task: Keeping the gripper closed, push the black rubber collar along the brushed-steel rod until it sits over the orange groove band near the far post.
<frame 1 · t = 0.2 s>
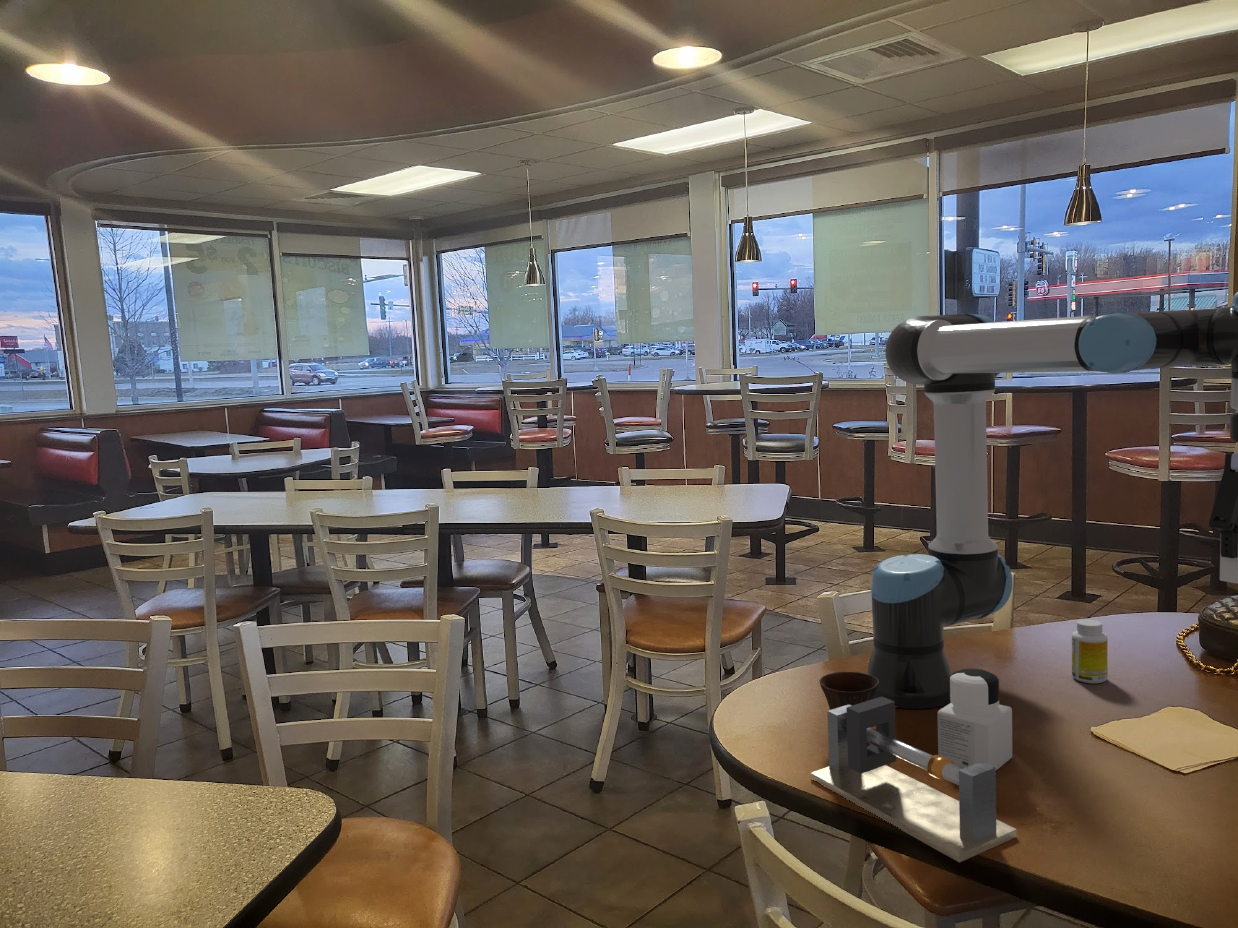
supplement bottle: (1089, 680, 161), on the table
rail: (906, 805, 120), on the table
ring: (871, 734, 125), point 8 cm above the table, slide at 0.0 cm
container: (975, 761, 132), on the table
cup: (850, 739, 142), on the table
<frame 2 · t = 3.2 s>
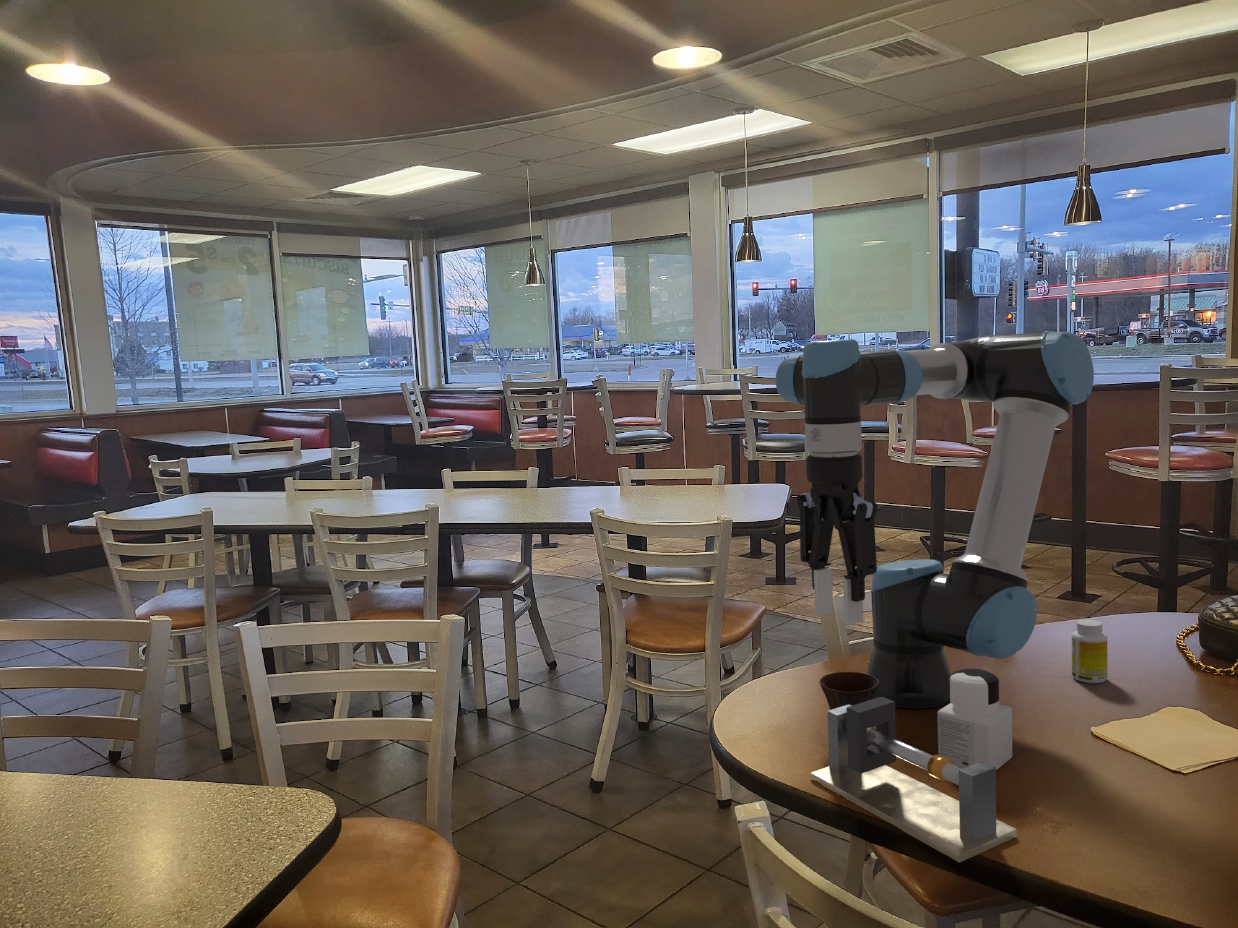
hand: (838, 617, 128), 23 cm above the table, fingers open, 5 cm apart
nothing on the table moved.
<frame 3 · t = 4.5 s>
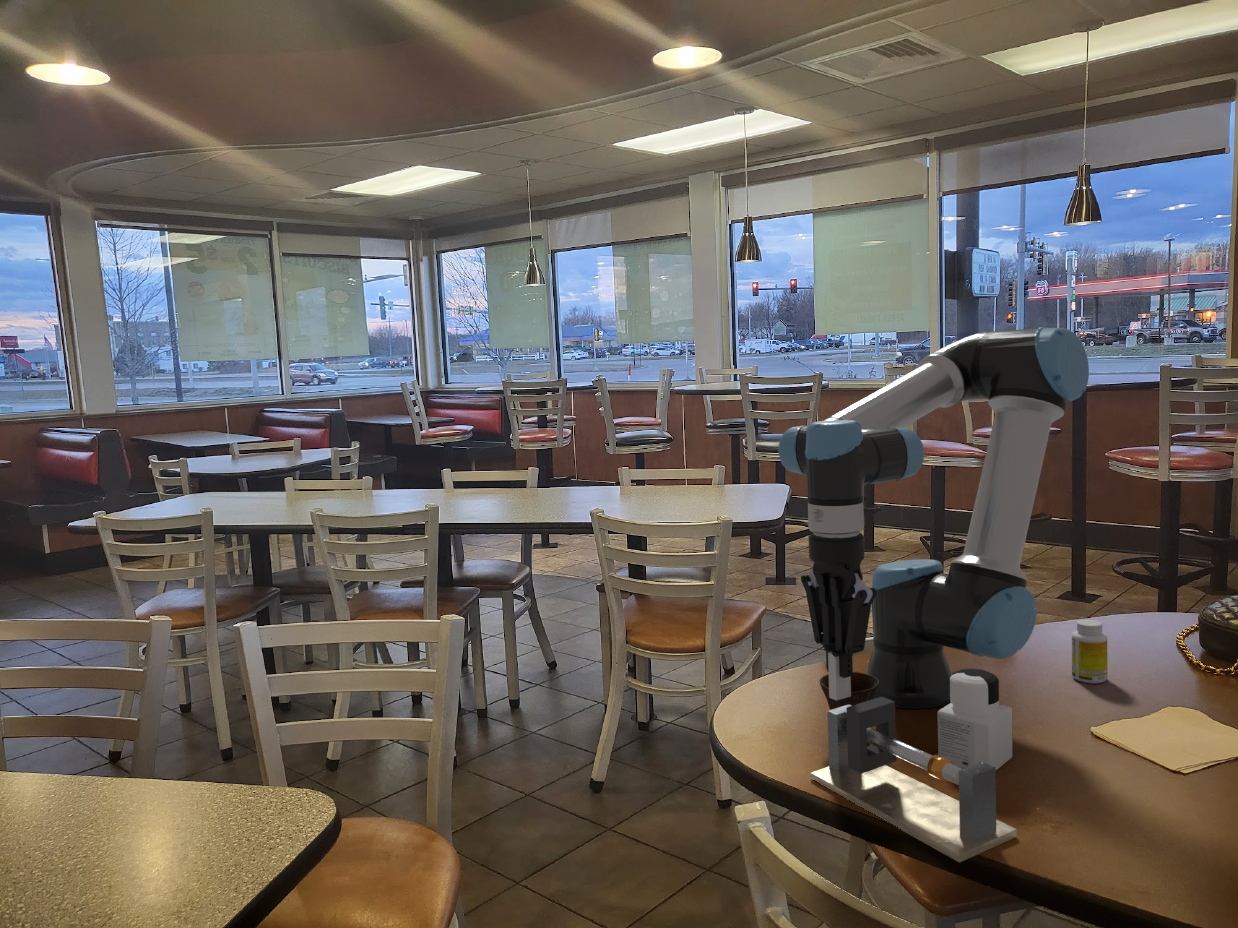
hand: (840, 696, 129), 11 cm above the table, fingers closed
nothing on the table moved.
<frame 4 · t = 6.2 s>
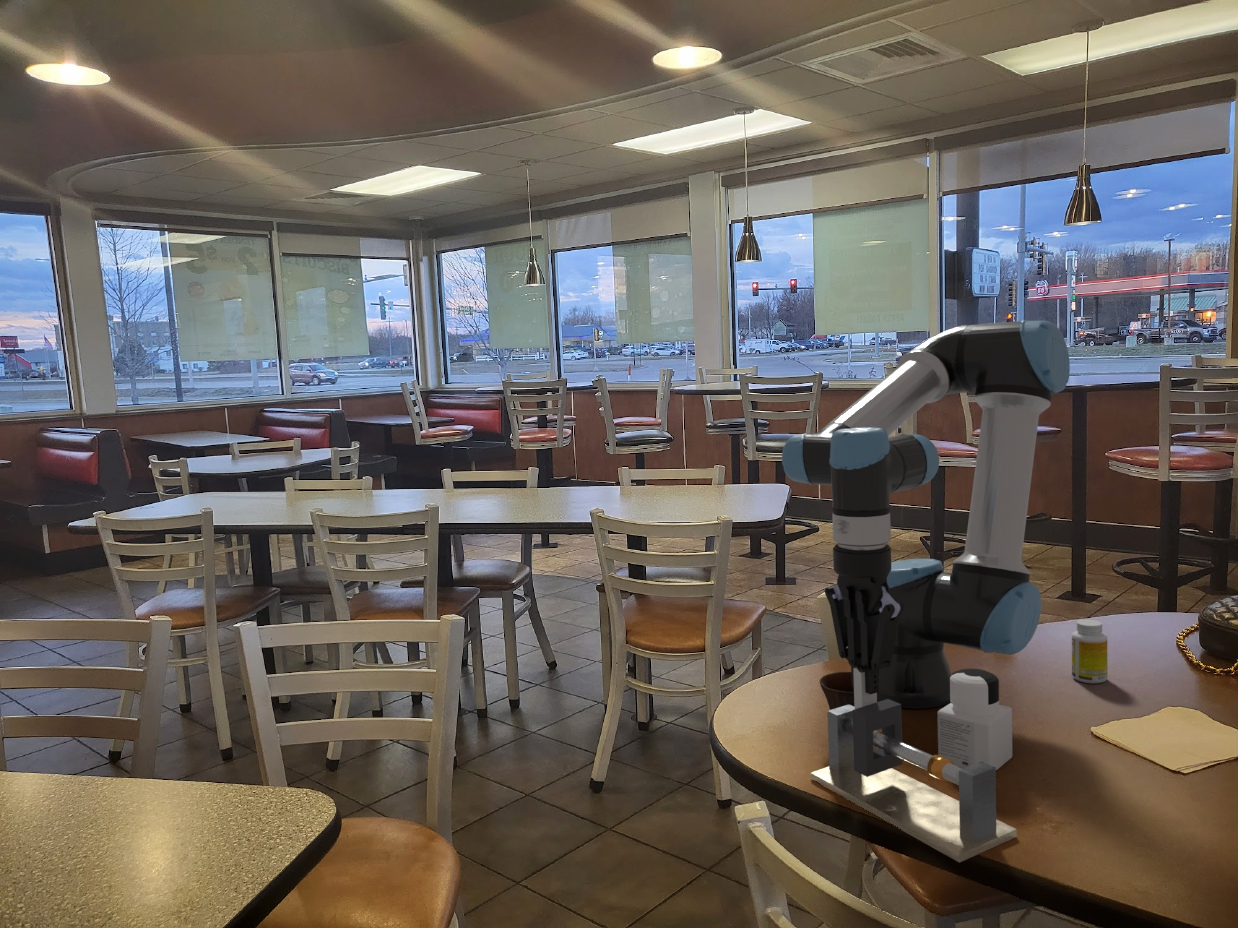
hand: (865, 713, 125), 11 cm above the table, fingers closed
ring: (877, 737, 124), point 8 cm above the table, slide at 1.2 cm, touching gripper
everything else where it was.
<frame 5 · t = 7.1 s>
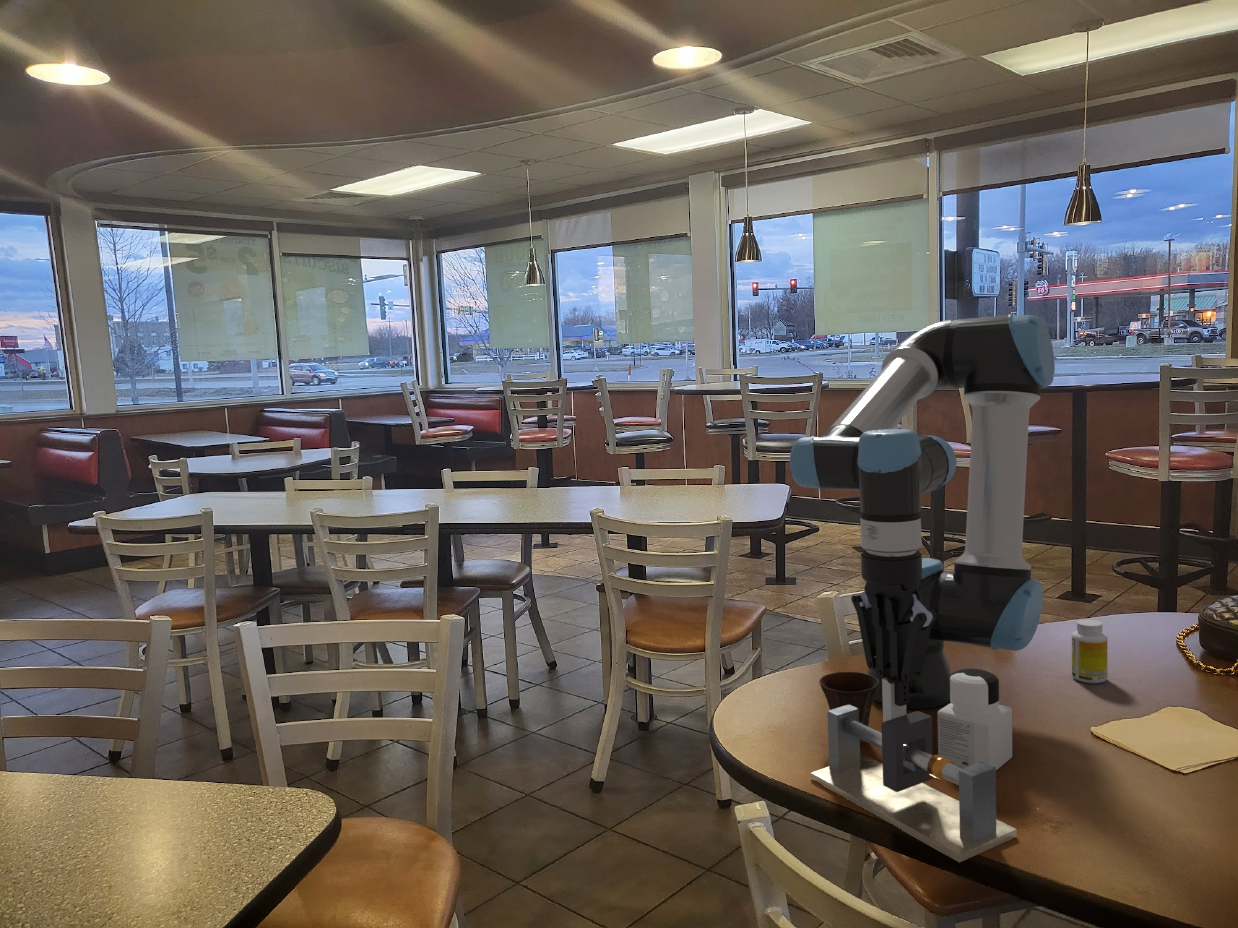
hand: (894, 725, 120), 11 cm above the table, fingers closed
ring: (907, 750, 119), point 8 cm above the table, slide at 6.5 cm, touching gripper
everything else where it was.
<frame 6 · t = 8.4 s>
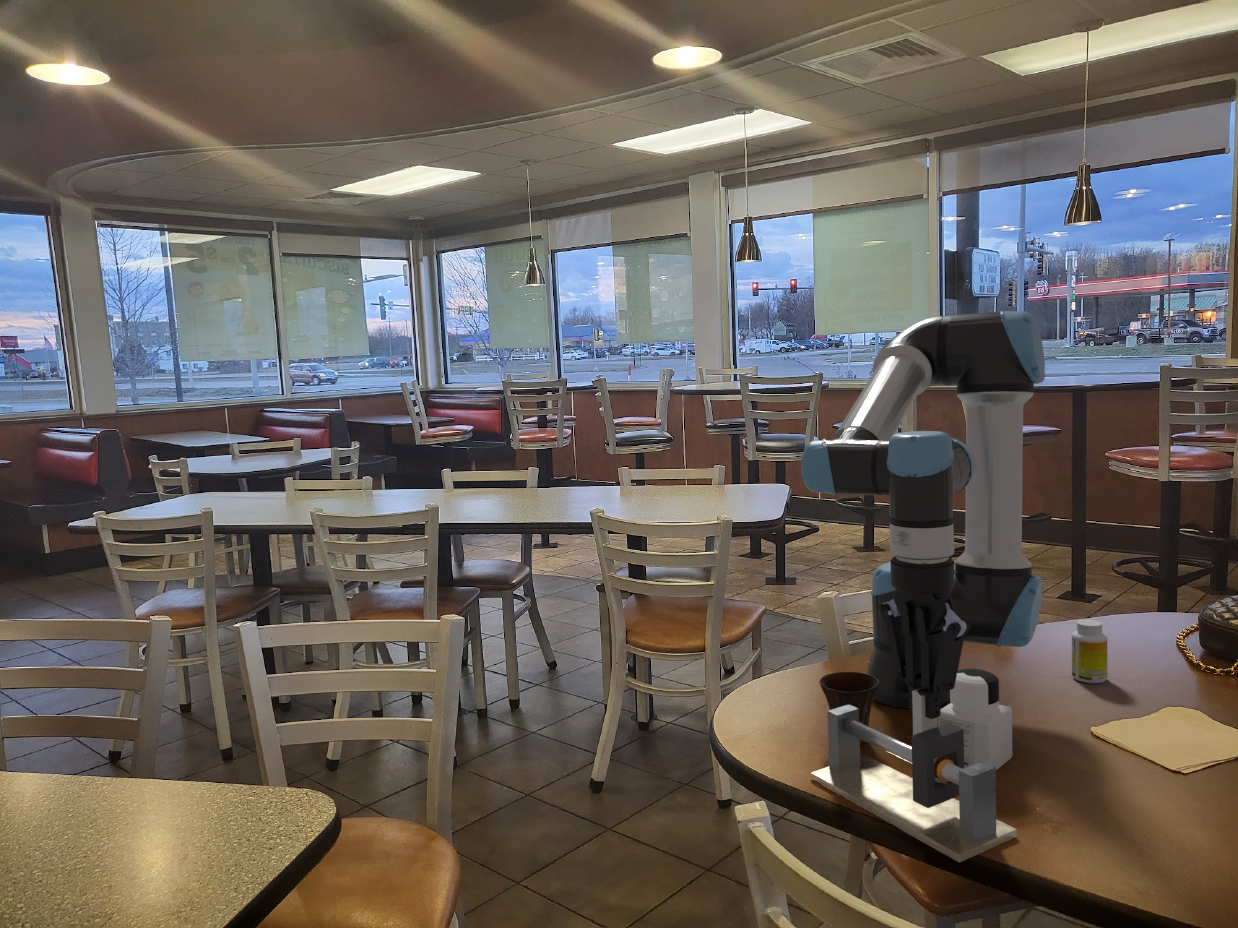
hand: (925, 739, 116), 10 cm above the table, fingers closed
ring: (938, 764, 115), point 8 cm above the table, slide at 11.6 cm, touching gripper
everything else where it was.
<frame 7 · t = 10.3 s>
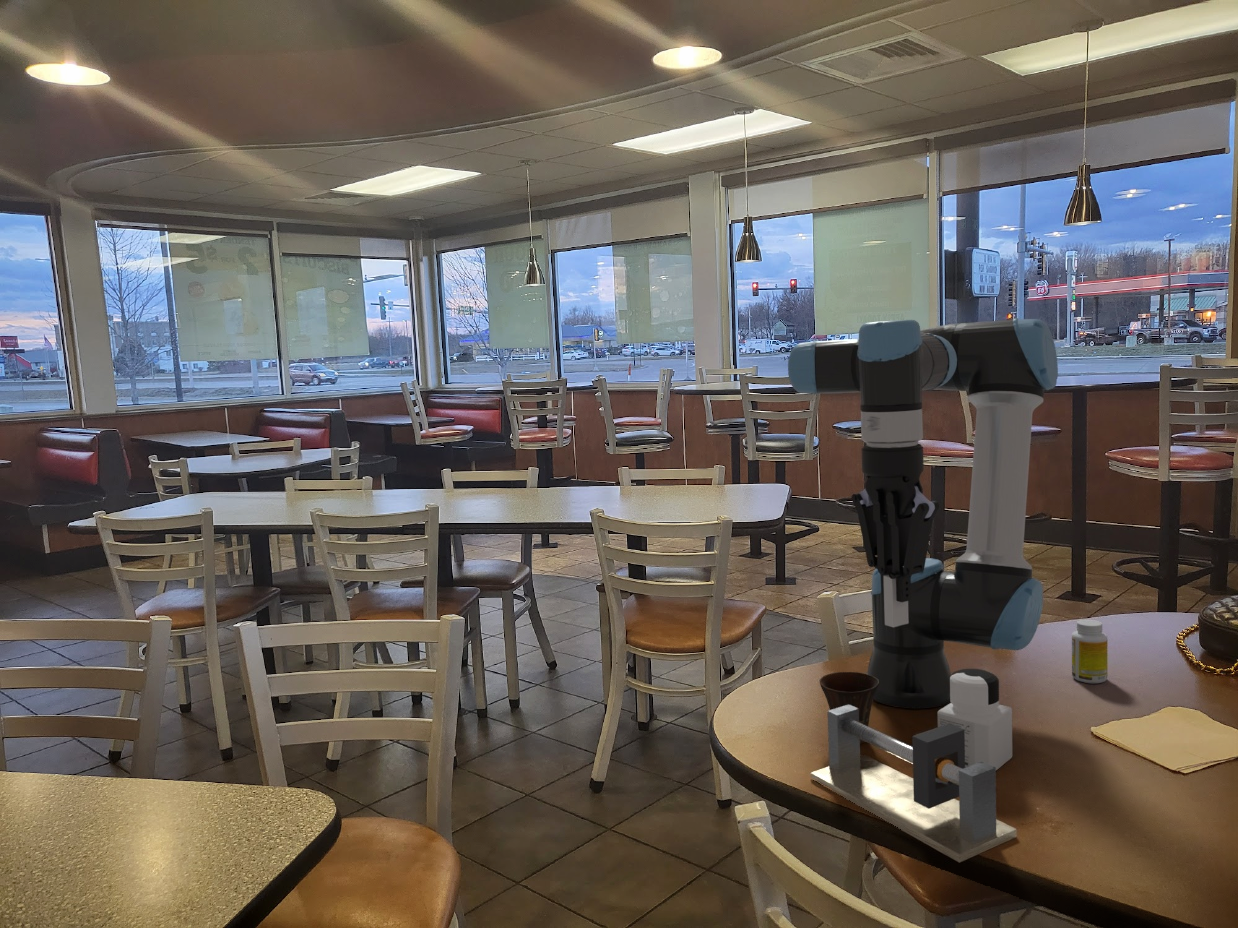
hand: (896, 623, 119), 24 cm above the table, fingers closed
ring: (939, 765, 115), point 8 cm above the table, slide at 11.7 cm
everything else where it was.
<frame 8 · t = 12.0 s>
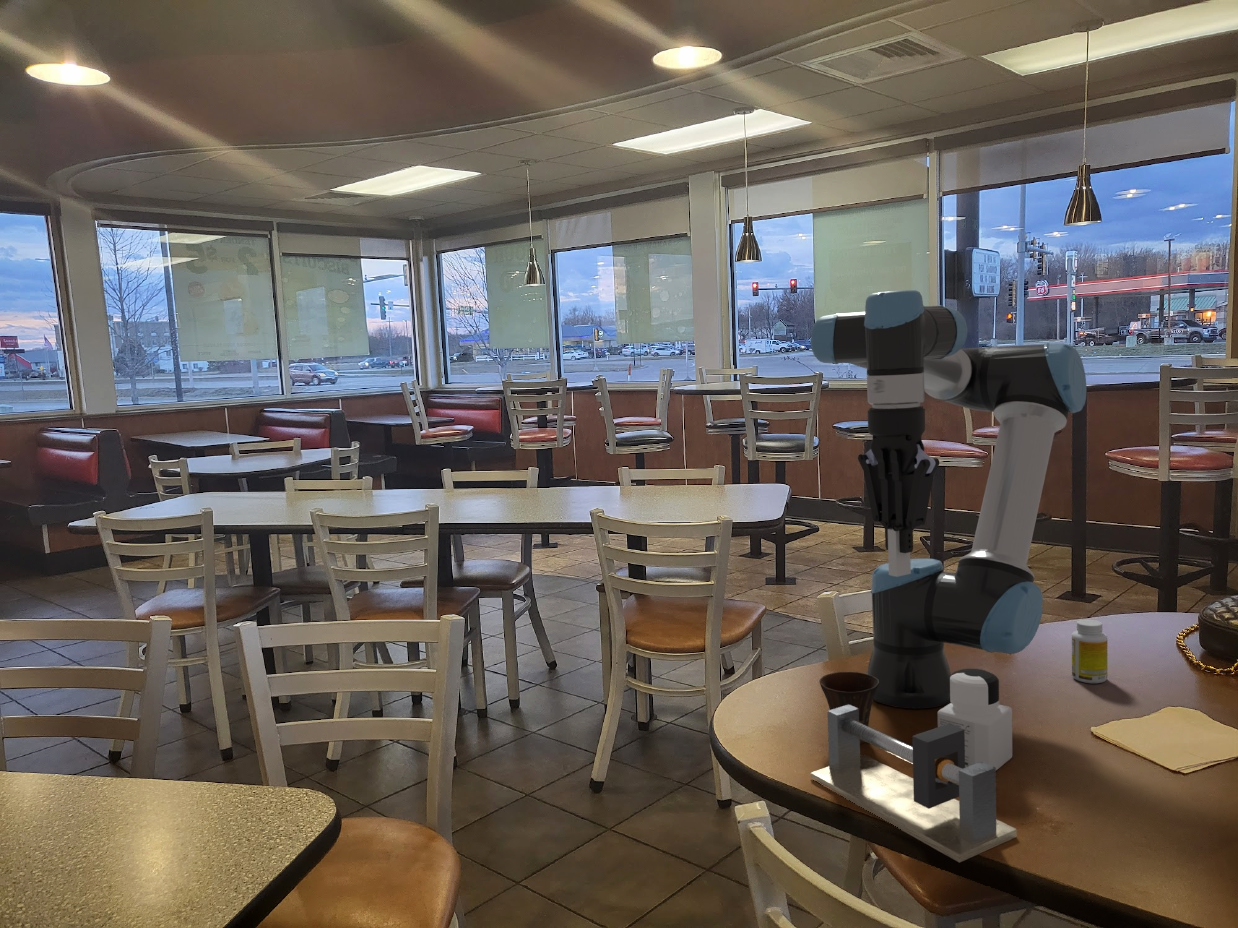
hand: (899, 574, 128), 28 cm above the table, fingers closed
nothing on the table moved.
at the end: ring slide at 11.7 cm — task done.
